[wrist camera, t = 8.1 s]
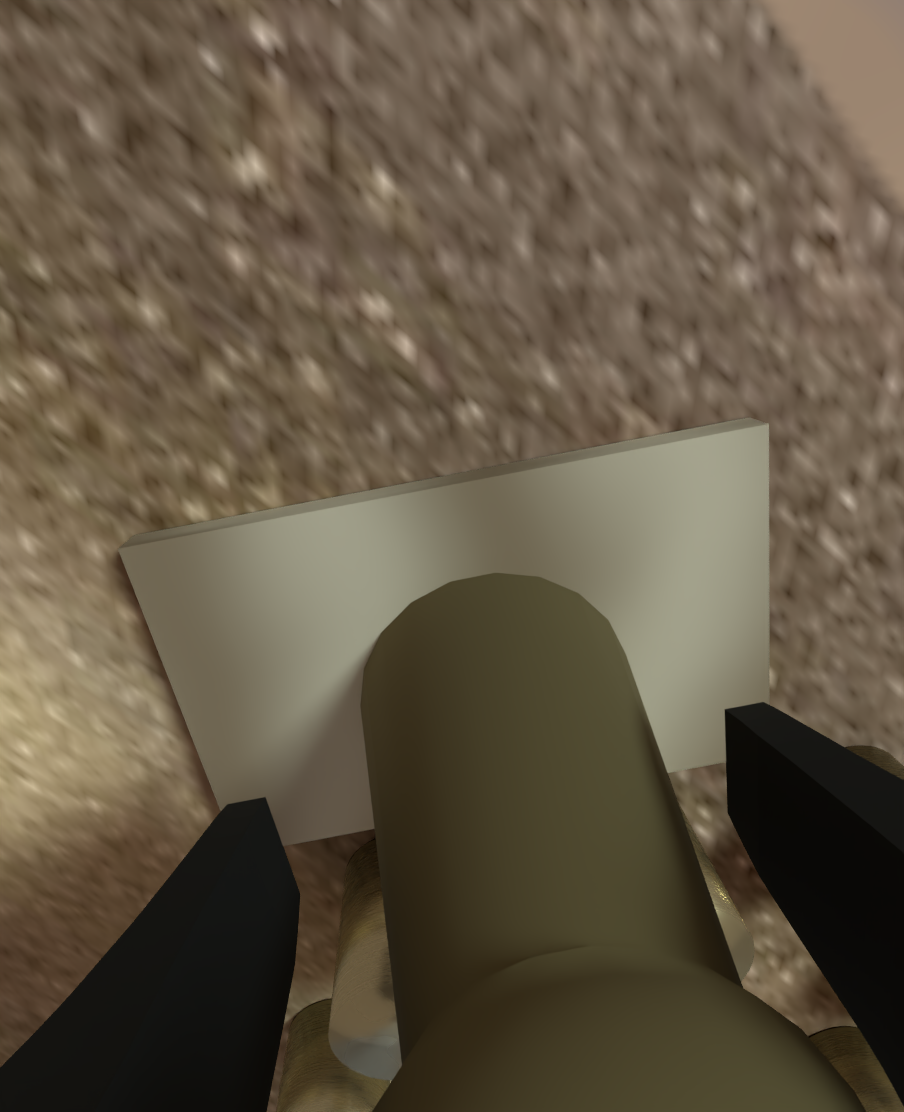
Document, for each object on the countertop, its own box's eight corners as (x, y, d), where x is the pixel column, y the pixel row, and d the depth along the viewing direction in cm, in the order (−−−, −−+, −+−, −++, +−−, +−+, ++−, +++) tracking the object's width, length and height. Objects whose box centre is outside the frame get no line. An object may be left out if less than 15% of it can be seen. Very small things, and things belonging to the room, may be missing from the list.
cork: (332, 779, 15) (179, 1768, 5) (398, 541, 13) (376, 1363, 3) (575, 825, 16) (871, 1732, 6) (671, 609, 14) (1364, 1406, 4)
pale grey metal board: (245, 830, 17) (237, 855, 16) (133, 535, 14) (117, 548, 13) (753, 733, 16) (769, 753, 16) (749, 417, 14) (768, 423, 13)
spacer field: (346, 1178, 22) (333, 1357, 18) (212, 852, 17) (156, 1009, 13) (964, 1062, 22) (1079, 1217, 18) (1024, 697, 17) (1203, 811, 13)
